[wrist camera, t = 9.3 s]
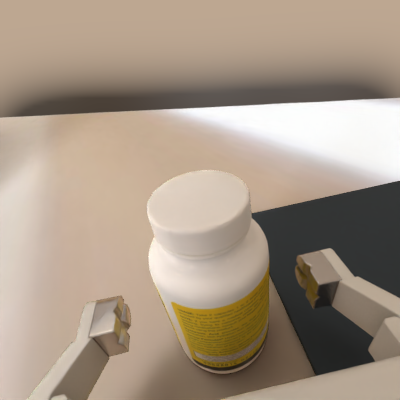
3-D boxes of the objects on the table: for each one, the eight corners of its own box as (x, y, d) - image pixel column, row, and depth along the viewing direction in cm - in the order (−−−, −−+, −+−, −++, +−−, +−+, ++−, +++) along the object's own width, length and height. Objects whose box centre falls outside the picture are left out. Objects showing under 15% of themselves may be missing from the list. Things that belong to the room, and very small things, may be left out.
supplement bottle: (287, 323, 15) (302, 186, 9) (222, 403, 12) (184, 284, 6) (222, 272, 18) (202, 150, 12) (162, 325, 16) (102, 204, 10)
